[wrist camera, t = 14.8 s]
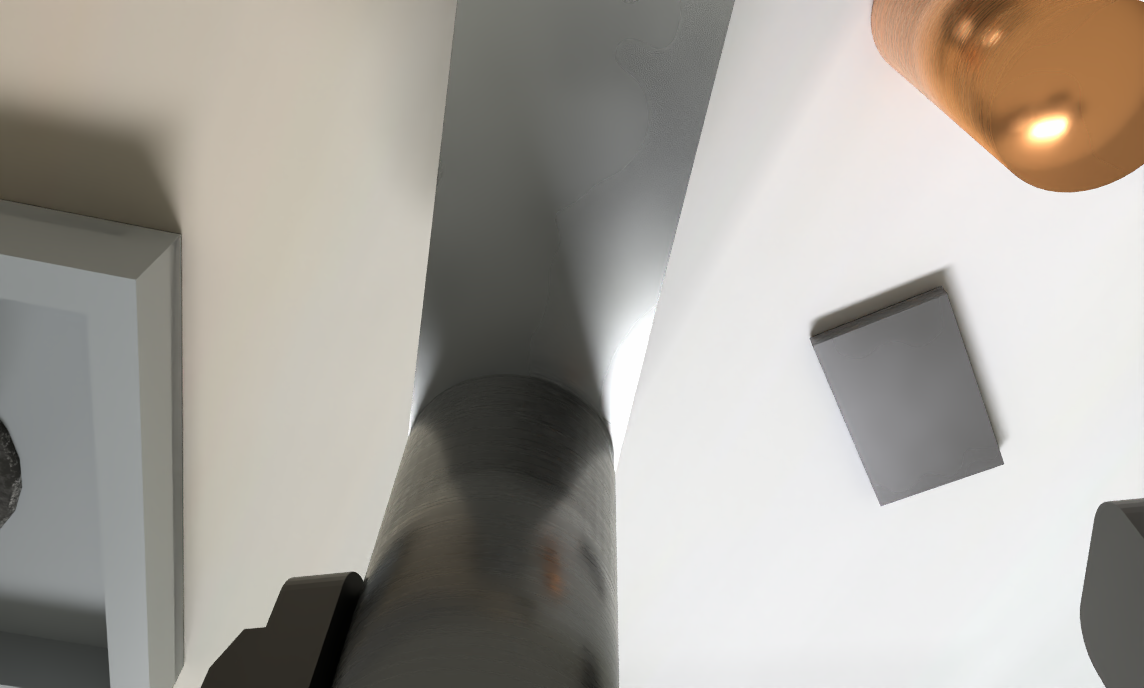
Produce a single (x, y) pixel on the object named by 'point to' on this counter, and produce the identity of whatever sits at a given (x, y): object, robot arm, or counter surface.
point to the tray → (91, 452)
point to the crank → (533, 341)
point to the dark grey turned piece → (8, 476)
